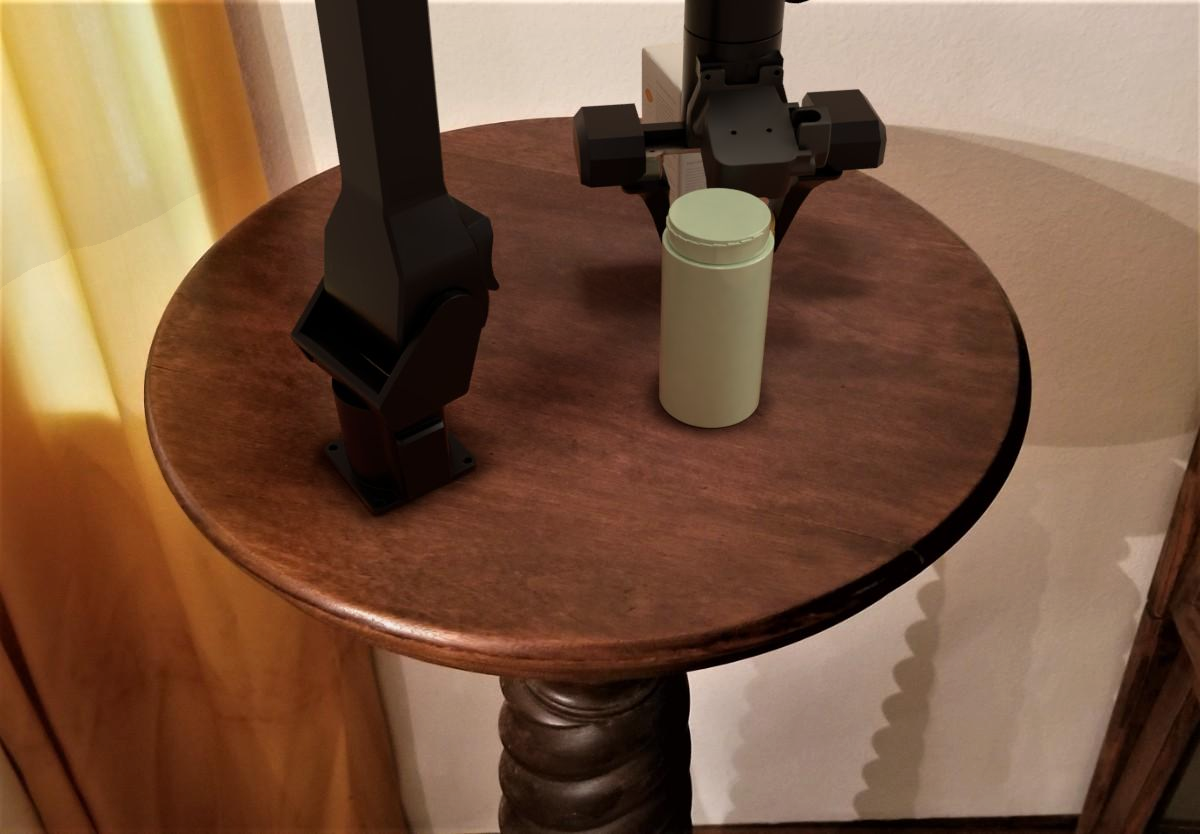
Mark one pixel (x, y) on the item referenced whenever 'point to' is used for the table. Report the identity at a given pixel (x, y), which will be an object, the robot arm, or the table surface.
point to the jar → (714, 306)
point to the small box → (669, 113)
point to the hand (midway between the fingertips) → (719, 254)
